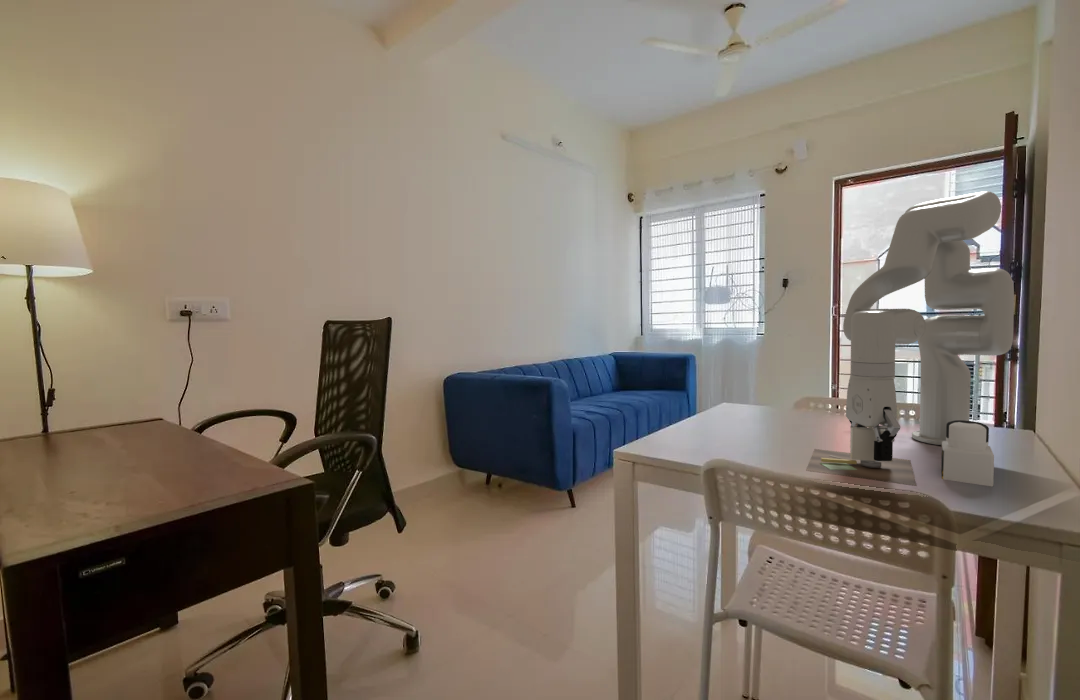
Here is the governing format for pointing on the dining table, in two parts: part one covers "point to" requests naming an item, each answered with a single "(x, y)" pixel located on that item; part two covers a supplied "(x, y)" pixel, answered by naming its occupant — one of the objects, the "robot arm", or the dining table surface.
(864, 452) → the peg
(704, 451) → the dining table surface
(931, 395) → the robot arm
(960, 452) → the medicine bottle
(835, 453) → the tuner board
